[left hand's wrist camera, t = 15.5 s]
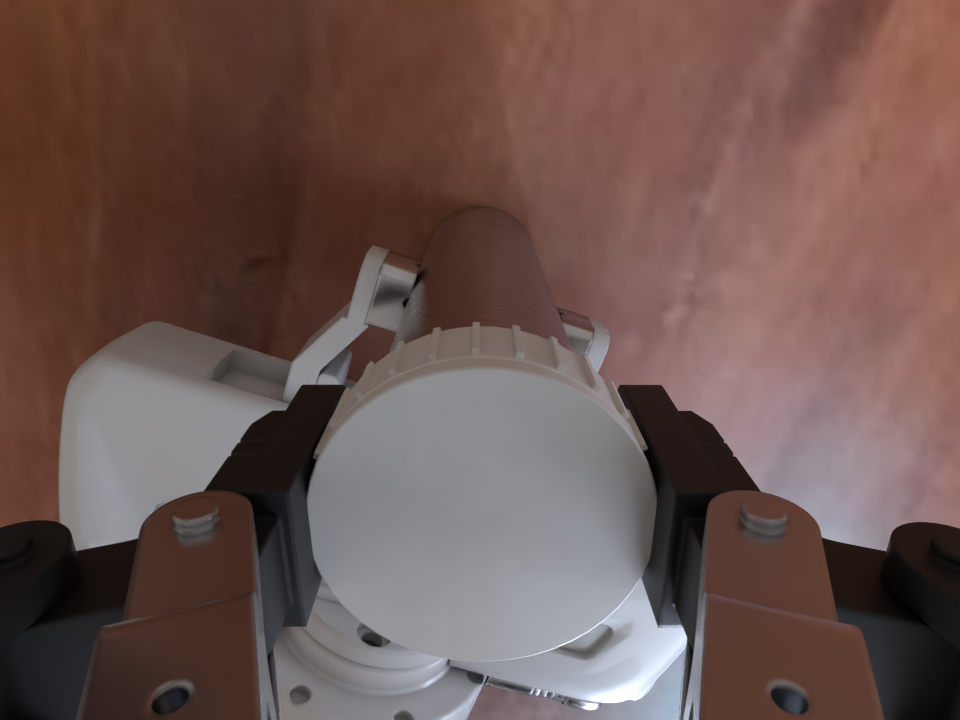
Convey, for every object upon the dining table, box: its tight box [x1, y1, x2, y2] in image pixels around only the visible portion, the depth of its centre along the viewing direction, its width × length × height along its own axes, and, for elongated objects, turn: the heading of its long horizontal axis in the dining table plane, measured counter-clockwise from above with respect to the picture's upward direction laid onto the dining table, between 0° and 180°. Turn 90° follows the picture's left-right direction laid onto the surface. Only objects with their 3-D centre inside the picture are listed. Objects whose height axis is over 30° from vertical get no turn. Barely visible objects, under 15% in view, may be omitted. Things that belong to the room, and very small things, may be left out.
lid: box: [307, 322, 657, 662], centre depth 10 cm, size 5×5×2 cm
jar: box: [388, 207, 574, 354], centre depth 17 cm, size 4×4×16 cm
